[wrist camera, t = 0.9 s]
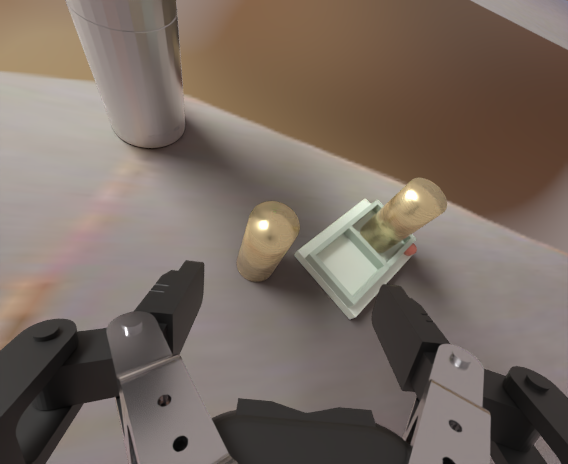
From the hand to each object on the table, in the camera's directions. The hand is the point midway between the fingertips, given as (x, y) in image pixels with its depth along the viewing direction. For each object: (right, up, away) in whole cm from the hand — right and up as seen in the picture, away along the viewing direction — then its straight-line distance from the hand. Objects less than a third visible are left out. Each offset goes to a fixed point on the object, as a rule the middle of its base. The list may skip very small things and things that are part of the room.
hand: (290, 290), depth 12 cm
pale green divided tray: (+9, 0, +24) cm, 26 cm away
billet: (-4, -1, +20) cm, 20 cm away
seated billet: (+12, +2, +24) cm, 27 cm away
